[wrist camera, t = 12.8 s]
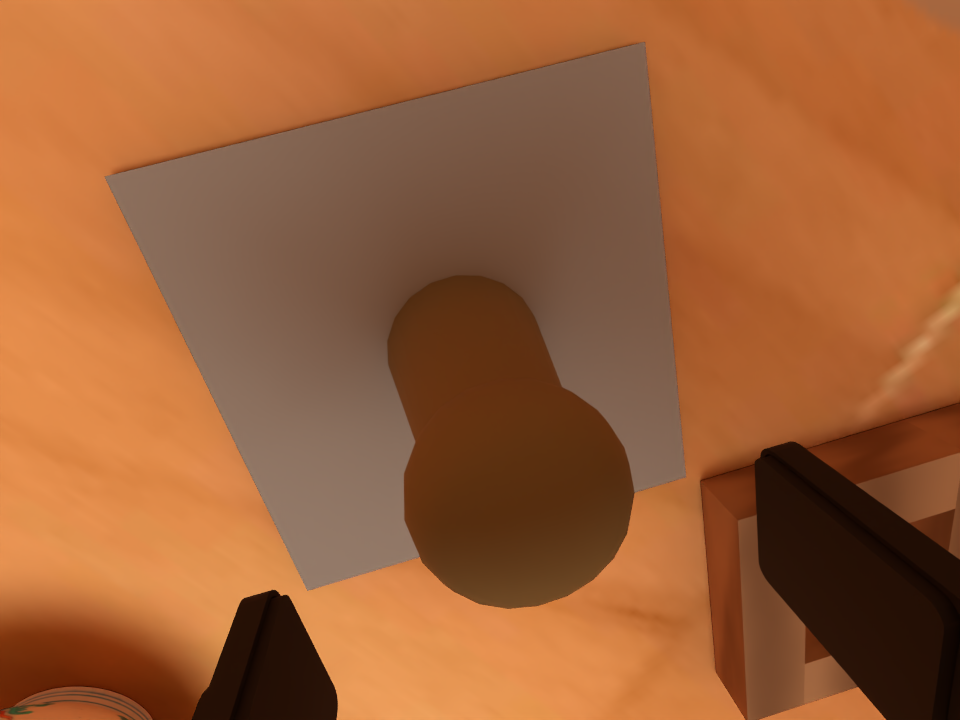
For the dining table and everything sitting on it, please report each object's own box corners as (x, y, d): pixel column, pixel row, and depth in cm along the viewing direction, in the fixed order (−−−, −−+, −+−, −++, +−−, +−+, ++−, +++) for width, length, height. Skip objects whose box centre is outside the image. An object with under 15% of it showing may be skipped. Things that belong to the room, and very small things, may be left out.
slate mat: (637, 44, 18) (644, 41, 18) (679, 470, 25) (686, 477, 25) (113, 175, 17) (104, 176, 17) (309, 580, 24) (307, 590, 24)
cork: (570, 349, 21) (732, 528, 11) (462, 446, 22) (521, 694, 12) (468, 240, 19) (556, 339, 9) (352, 353, 20) (314, 559, 10)
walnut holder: (963, 401, 26) (1030, 431, 24) (933, 602, 32) (985, 644, 29) (700, 480, 26) (738, 520, 23) (716, 672, 31) (747, 723, 28)
